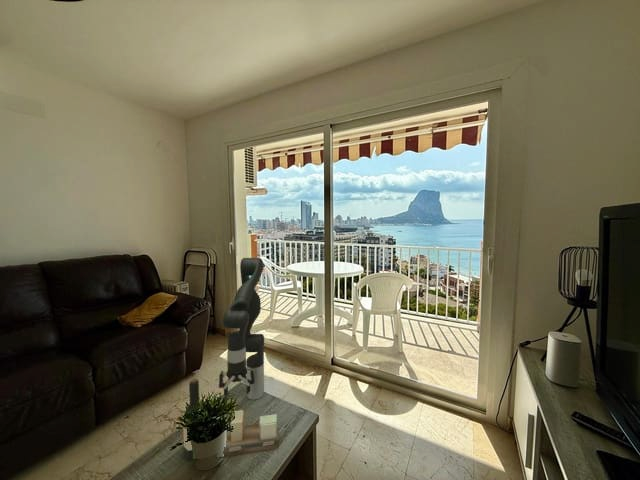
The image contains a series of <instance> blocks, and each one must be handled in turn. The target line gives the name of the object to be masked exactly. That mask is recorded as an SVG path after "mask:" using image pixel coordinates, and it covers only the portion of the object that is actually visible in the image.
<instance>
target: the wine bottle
mask: <svg viewBox="0 0 640 480" xmlns="http://www.w3.org/2000/svg"><path fill="white" fill-rule="evenodd" d="M188 387H189V388H188V390H189V404H188V406H187V407H188V408H186V409H185V411H184V414H186V413H188V412H190V411H191V410H193V409H197V408H198V407H199V406H200V403H197V401H198V400H199V401H200V384H199V379H198V378H197V377H196V378H192V379H191V380H190V381H189V384H188ZM184 414H183V415H184ZM182 428H183V430H182V431H183V457H184V458H185V459H186V460H187V461H189V462H190V461H194V460H193V451H192V445H191V442H190V441H188V442H185V441H187V429H186V428H184V427H182Z"/></svg>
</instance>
